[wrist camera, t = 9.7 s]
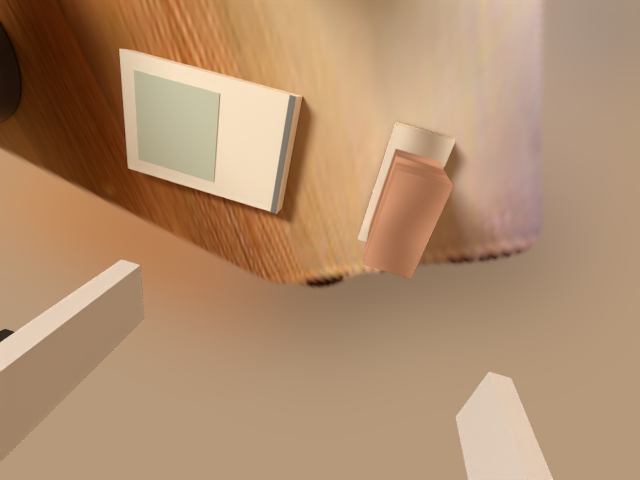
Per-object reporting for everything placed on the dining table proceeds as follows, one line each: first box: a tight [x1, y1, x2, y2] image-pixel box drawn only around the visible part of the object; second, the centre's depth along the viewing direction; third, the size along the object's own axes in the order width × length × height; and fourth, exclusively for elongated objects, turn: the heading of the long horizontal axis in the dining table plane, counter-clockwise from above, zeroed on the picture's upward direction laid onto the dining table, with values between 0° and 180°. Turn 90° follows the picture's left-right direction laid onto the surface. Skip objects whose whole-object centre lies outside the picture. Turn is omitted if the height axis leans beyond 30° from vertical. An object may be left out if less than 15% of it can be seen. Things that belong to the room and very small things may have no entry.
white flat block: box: [119, 48, 303, 214], centre depth 33 cm, size 18×12×2 cm, turn 77°
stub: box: [358, 122, 456, 279], centre depth 28 cm, size 5×12×10 cm, turn 167°
